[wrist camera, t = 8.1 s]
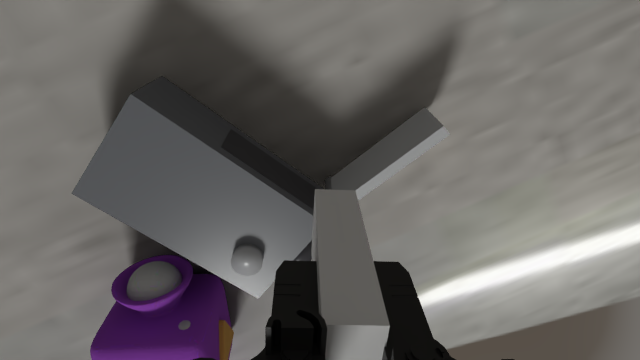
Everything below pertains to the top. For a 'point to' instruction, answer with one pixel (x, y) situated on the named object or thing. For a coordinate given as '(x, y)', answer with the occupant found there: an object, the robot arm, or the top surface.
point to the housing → (201, 188)
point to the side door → (389, 154)
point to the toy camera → (165, 314)
